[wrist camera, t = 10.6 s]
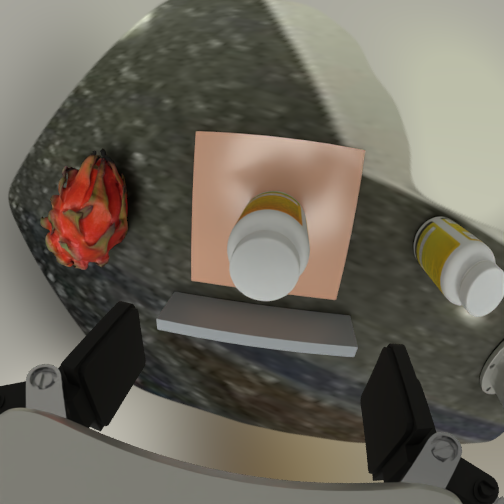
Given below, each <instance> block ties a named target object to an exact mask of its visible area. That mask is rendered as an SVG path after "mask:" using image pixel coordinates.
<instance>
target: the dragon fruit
mask: <svg viewBox="0 0 504 504" xmlns="http://www.w3.org/2000/svg"><path fill="white" fill-rule="evenodd" d="M100 152H101V154H102V156H103V158H102V159H100V156H99V155H96V151H95V150H94V151H93V153H92V154H91V155H89V156H88V157H87V158H85V160H84V161H83V163H82V165H81V167H80V169H79V170H77V169H75V168H72V167H71V168H68V167H67V166H65V167H64V169H63V172H62V175H63V178H61V179H60V181H59V193H60V195H53V196H52V197H51V198H50V200H51V204H52V207H53V209H52V210H51V211H49V214H48V217H45V218H43V217H41V225H42V226H43V227H44V228H46V229H49V230H50V232H49V233H48V234H47V236H46V245H47V248H48V250H49V251H51V252H53V254H54V255H55V256H56V259H57V262H58V263H60V264H63V265H65V266H67V267H70V266H72V265H73V267H75V268H80V269H82V270H85V269H86V268H87V267H88V263H89V262H96V264H97V265H98V266H100V267H103V266H104V265H105V264H107V263H108V261H109V256H108V252H109V250H110V249H111V248H113V247H114V246H115V245H116V244H118V243H120V242H122V240H123V239H124V238H125V236H126V234H127V231H128V222H127V211H128V204H127V197H128V193H127V189H126V183H125V177H124V176H123V174H122V173H121V177H120V175H119V173H118V171H117V169H116V166H115V164H114V162H113V161H112V160H111V158H110V157H108V156H107V155H106V152H105V150H104V149H102V150H101V151H100ZM66 173H68V182H67V187H66V188H63V185H64V183H65V182H66Z"/></svg>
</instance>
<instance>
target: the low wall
mask: <svg viewBox="0 0 504 504" xmlns="http://www.w3.org/2000/svg"><path fill="white" fill-rule="evenodd" d="M156 320H157V329H159V330H164V331H169V332H174V333H178V334H183V335H189V336H194V337H199V338H205V339H210V340H216V341H222V342H228V343H234V344H240V345H247V346H254V347H261V348H268V349H276V350H284V351H293V352H302V353H312V354H322V355H334V356H347V357H354V356H355V354H356V351H357V348H358V345H357V341H356V337H355V333H354V329H353V325H352V321H351V317H350V315H341V314H332V313H323V312H314V311H305V310H297V309H289V308H281V307H273V306H265V305H258V304H251V303H244V302H237V301H230V300H224V299H217V298H211V297H204V296H198V295H192V294H186V293H180V292H174V293H173V295H172V296H171V298H170V299H169V301H168V302H167V304H166V305H165V307H164V308H163V310H162V311H161V313H160V314H159V316H158V317H157V319H156Z"/></svg>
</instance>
